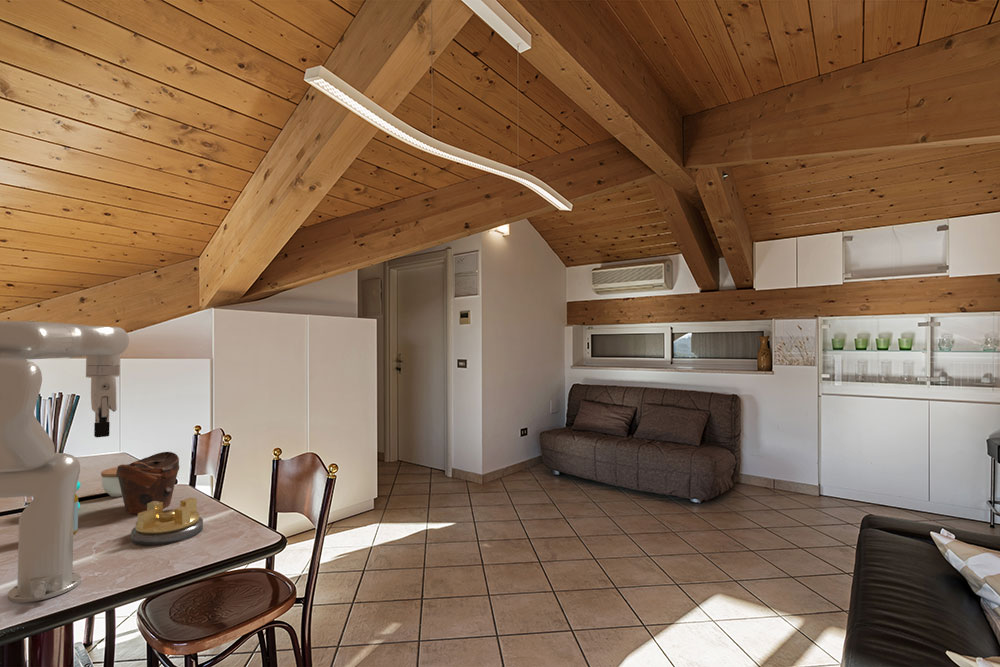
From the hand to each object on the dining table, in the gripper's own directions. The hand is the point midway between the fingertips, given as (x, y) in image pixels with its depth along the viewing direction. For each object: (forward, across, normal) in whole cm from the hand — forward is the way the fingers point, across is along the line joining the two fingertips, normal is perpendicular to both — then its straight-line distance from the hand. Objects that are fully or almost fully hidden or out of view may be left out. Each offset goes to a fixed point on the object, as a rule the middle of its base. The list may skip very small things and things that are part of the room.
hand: (101, 436), depth 141 cm
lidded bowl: (+31, +56, -12) cm, 65 cm away
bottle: (+31, +18, +7) cm, 37 cm away
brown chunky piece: (+31, +30, -16) cm, 46 cm away
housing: (+31, -2, -16) cm, 35 cm away
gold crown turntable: (+28, -2, -16) cm, 33 cm away
